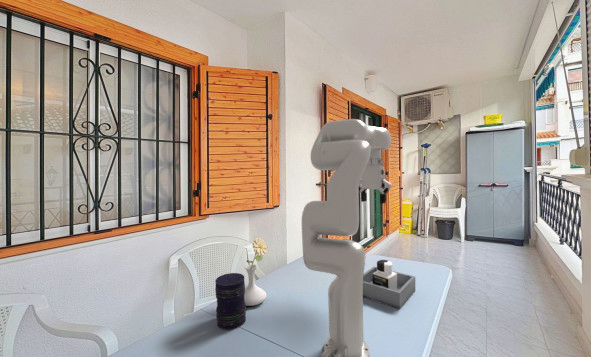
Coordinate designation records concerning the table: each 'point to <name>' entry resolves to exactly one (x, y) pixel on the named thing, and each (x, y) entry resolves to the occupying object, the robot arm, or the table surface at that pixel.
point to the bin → (388, 295)
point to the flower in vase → (253, 292)
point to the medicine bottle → (385, 275)
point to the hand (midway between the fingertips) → (373, 202)
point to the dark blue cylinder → (230, 301)
